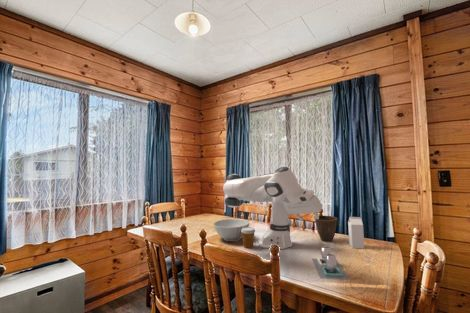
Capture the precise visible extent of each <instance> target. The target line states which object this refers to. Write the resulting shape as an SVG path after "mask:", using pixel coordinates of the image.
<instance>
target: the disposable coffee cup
mask: <svg viewBox="0 0 470 313" xmlns="http://www.w3.org/2000/svg"><path fill="white" fill-rule="evenodd" d="M241 232H242V237H241V238H242V243H243V248H245V249H253V248H254V242H255V233H256V230H255V228H254V227H252V226H251V227H250V226H249V227H245V228H242V230H241Z"/></svg>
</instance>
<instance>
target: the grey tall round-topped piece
mask: <svg viewBox="0 0 470 313" xmlns="http://www.w3.org/2000/svg"><path fill="white" fill-rule="evenodd" d="M320 251H321V252H320V253H321V259H322V264H326V255H327V254H332V253H331V252H332V251H331V247H328V246H321V248H320Z"/></svg>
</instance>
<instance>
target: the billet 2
mask: <svg viewBox="0 0 470 313" xmlns="http://www.w3.org/2000/svg"><path fill="white" fill-rule="evenodd" d="M336 260H337V256H336V255H335V254H332V253H331V254H327V255H326V271H327V273H331V274H337V270H336Z"/></svg>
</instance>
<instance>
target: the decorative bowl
mask: <svg viewBox="0 0 470 313" xmlns="http://www.w3.org/2000/svg"><path fill="white" fill-rule="evenodd" d="M213 227H214V230H215V231H216V233H217V235H218V236H219V237H220V238H222V239H223V241H225V240H226V241H225V242H228V241H234V242H238V241H241V239H242V238H243V237H242V232H241V230H242V228H245V227H250V222H249V221H248V220H247V219H241V218H239V219H238V218H228V219H221V220H217V221H215V222H214V223H213Z"/></svg>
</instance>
